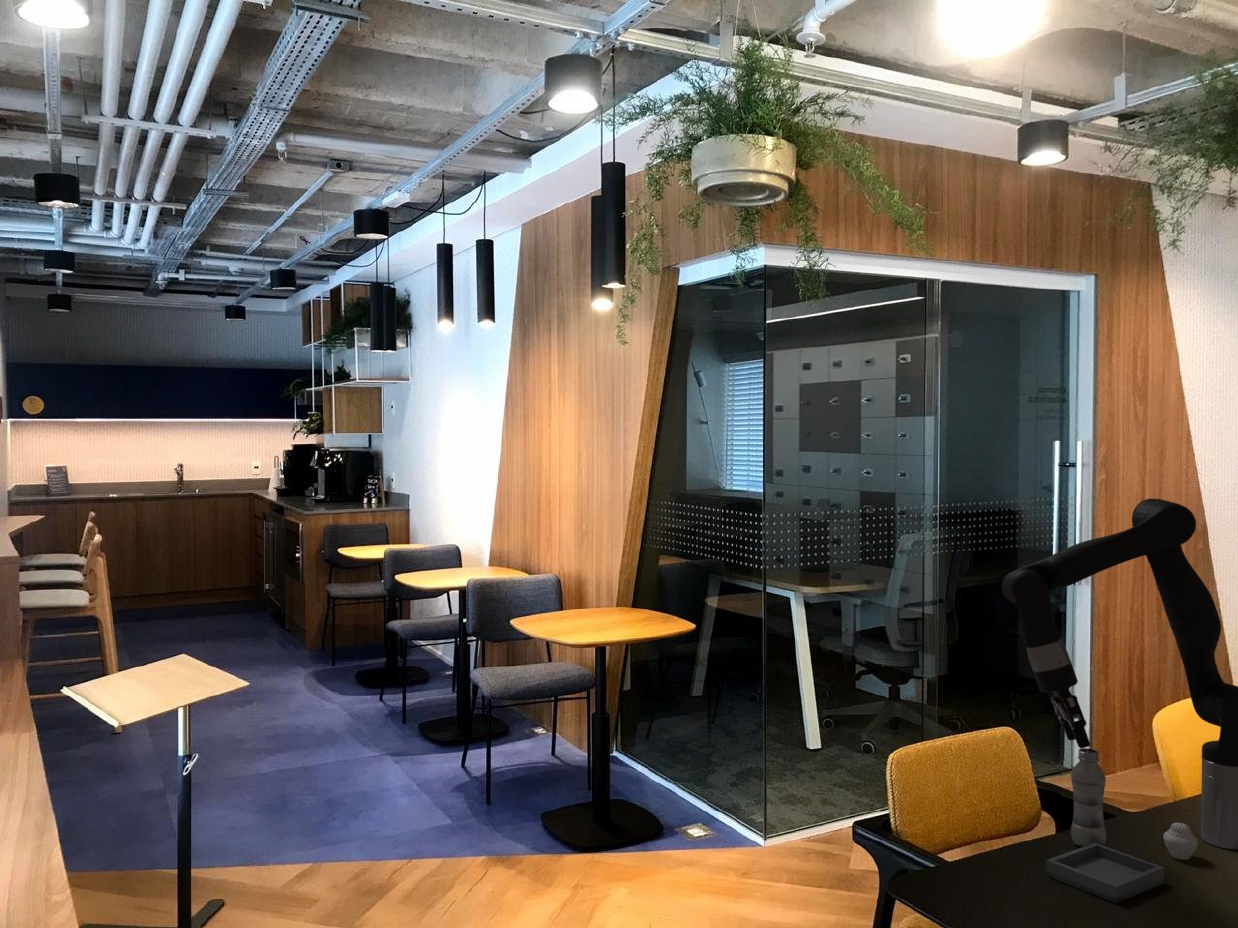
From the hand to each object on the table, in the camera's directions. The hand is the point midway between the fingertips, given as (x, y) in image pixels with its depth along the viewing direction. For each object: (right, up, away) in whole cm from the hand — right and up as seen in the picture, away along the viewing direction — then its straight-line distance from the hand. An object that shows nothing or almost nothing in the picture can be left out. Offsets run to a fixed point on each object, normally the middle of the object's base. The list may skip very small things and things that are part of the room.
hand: (1079, 742), depth 199 cm
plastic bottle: (+5, -23, +6) cm, 25 cm away
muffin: (+21, -23, +1) cm, 31 cm away
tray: (0, -23, -10) cm, 25 cm away
